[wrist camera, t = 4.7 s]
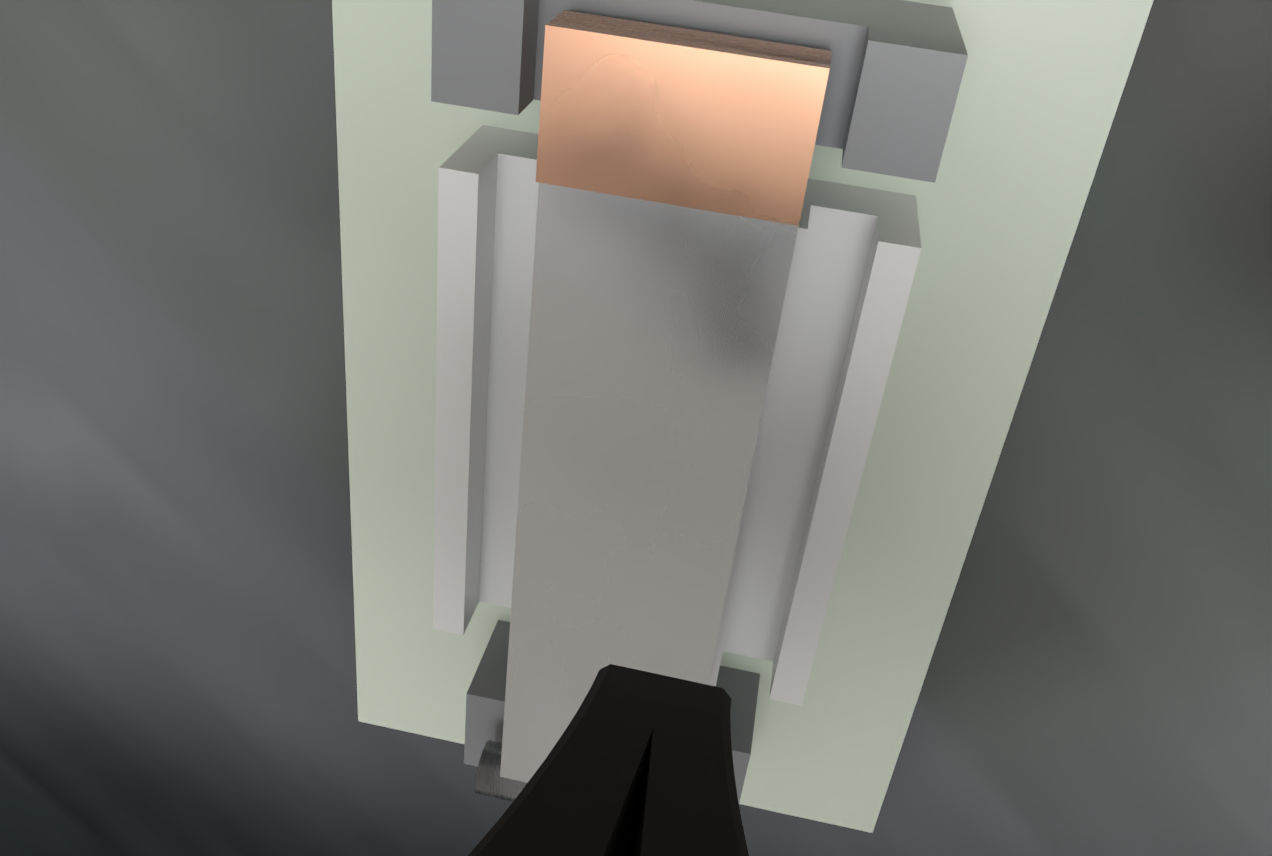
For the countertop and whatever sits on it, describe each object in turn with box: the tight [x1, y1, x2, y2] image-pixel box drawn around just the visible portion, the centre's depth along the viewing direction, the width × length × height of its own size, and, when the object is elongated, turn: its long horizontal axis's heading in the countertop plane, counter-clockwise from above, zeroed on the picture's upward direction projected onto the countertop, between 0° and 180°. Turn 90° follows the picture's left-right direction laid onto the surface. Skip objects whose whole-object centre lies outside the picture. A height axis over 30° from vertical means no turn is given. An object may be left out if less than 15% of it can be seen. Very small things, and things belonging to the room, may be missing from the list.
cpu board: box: [332, 0, 1153, 833], centre depth 20 cm, size 18×12×4 cm, turn 173°
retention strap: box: [475, 10, 832, 801], centre depth 18 cm, size 14×4×1 cm, turn 174°
